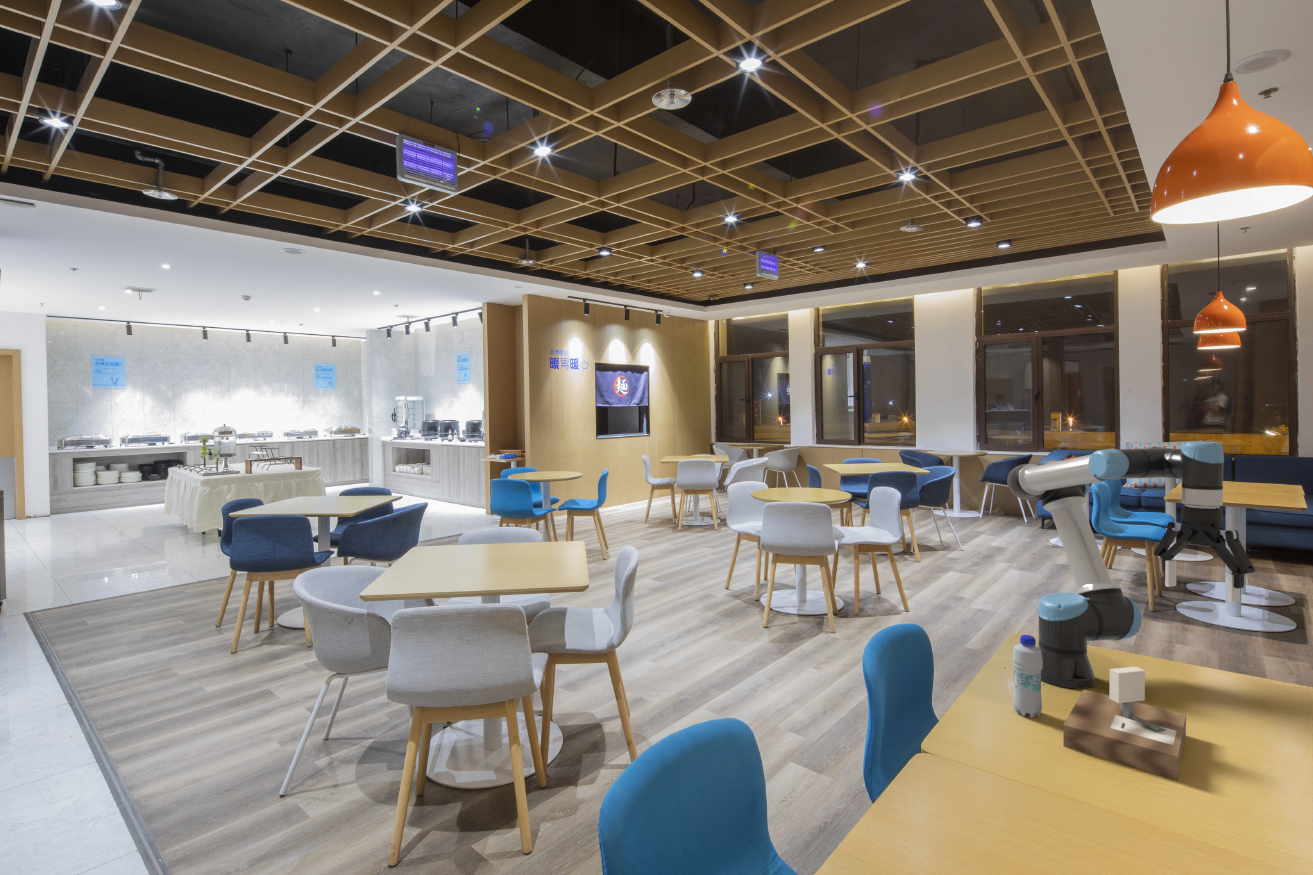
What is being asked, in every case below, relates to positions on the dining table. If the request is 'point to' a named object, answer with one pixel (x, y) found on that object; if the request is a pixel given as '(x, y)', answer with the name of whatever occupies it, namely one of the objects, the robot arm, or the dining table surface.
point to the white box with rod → (1128, 690)
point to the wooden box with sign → (1127, 734)
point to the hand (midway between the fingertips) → (1200, 593)
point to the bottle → (1027, 677)
